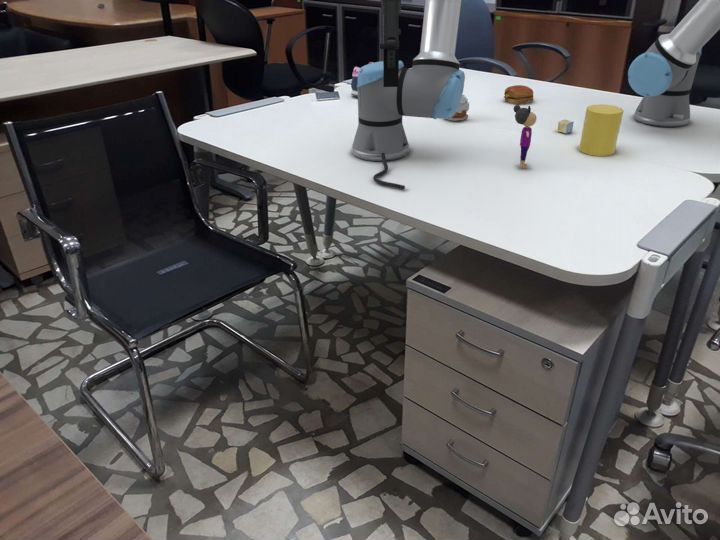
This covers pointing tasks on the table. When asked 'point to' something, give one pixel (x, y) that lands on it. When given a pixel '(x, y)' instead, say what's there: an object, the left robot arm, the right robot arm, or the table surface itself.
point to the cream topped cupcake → (461, 110)
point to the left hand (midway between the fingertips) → (390, 78)
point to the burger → (518, 94)
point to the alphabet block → (565, 126)
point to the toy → (524, 130)
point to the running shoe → (355, 81)
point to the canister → (600, 130)
